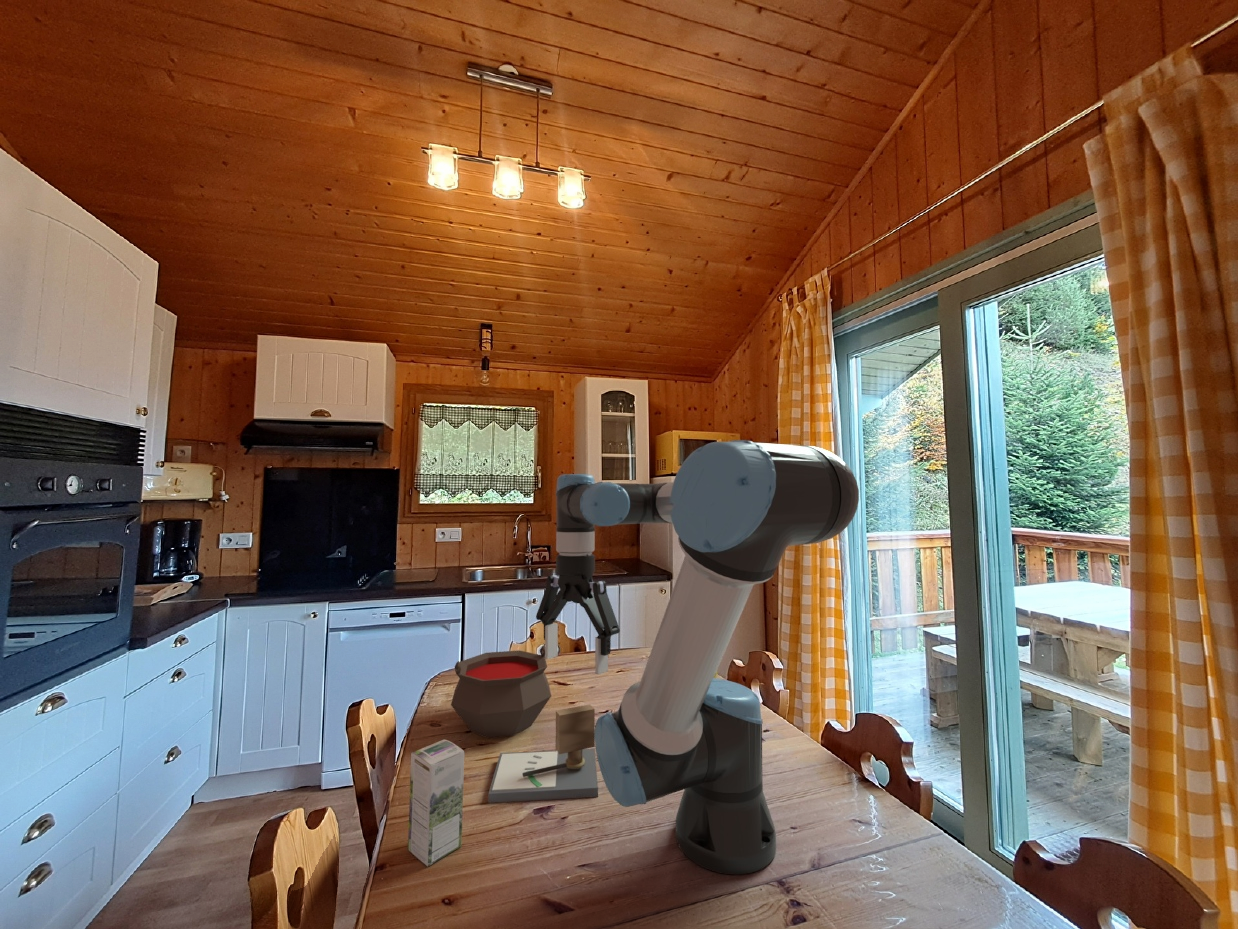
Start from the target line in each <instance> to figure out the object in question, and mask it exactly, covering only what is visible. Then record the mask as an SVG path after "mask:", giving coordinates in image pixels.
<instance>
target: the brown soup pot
mask: <svg viewBox="0 0 1238 929" xmlns="http://www.w3.org/2000/svg"><path fill="white" fill-rule="evenodd" d="M539 653H540V654H539ZM539 653H538V654H537V653H533V652H528V651H525V650H520V649H519V650H508V651H507V650H506V651H495V652H494V651H493V652H492V651H491V652H489V651H488V652H484V653H481V654H479V655H475V656H472V657H469V658H467V659H463V660H461V661H457V662H456V663H455V665H454V671H455V674H456V676H457V677H458V678H459V679H458V681H457V683H456V686H455V689H454V692H453V696H452V699H451V703H450V707H452V709H454V711H455V712H456V713H457V714H458V716H459V717H460V719H461V720H462V721H463V722H464V724H465V725H466V726H467V728H468V729H469V730H470V732H471V733H474V734H477V735H480V736H481V737H485V738H487V739H494V738H505V737H513V736H516V735H518V734H520V733H522V732H523V731H525V730H527V729H529V728H531V727H532V725H534V723H535V721H536V720H537V718H538V717H539V715H540V714H541V712H542V711H543V709H544V707H545V706H546V705H547V703H548V701H550V699H551V697H552V693H551V689H550V684H549V681H548V678H547V675H546V674H545V671H546V669H547V668H548V664H547V659H545V644H543V645H542V646H541V647H540V649H539Z"/></svg>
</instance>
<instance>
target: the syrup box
mask: <svg viewBox="0 0 1238 929" xmlns="http://www.w3.org/2000/svg"><path fill="white" fill-rule="evenodd" d="M464 773H465V751H464V750H463V749H462V748H461V747H460V746H458V745H457V744H455V743H454V742H452V741H450V740H447V739H442V740H439V741H437V742H434V743H432V744H430V745H426V746H425V747H422V748H420V749H417V750H415V751H412V752H411V755H410V777H409V778H410V780H409V810H408V837H407V838H408V839H407V849H408V852H410V853H411V854H412V855H414V857H416V858H417V859H418V860H419V861H420V862H422V863H423V864H424V865H425V866H426V867H430V866H432V865H433V864H435V863H437V862H438V861H439V860H441V859H443V858H444V857H447V856H448V855H450V854H451V853H453V852H454V851H456V850H458V849H459V848H461V847H462V842H463V841H462V837H463V811H464V810H463V809H464V808H463V805H464V803H463V802H464V800H463V799H464V778H465V776H464V775H465V774H464Z"/></svg>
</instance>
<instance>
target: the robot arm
mask: <svg viewBox="0 0 1238 929" xmlns="http://www.w3.org/2000/svg"><path fill="white" fill-rule="evenodd" d="M858 486H859V485H858V482H857V479H856V477H855V474H854V473H853V471H852V470H851V468H850V466H849V465H848V464H847V463H846V462H845V461H844V460H843V459H842V458H840V457H839V456H838V455H837V454H835V453H834V452H832V451H829V450H826V449H824V448H822V447H818V446H814V445H798V444H797V445H795V444H794V445H793V444H783V443H782V444H780V443H766V442H753V441H752V440H746V439H735V440H730V441H714V442H713V441H712V442H710V443H709V442H708V443H706V444H705V445H703V446H700V447H698V448H697V449H695V450H694V451H692V452H691V453H689V455H688V456H687V457H686V459H684V461H683V462H682V464H681V465H680V467H679V469H678V470H677V473H676V474H675V477H674V479H673V481H671V482H659V483H628V482H627V483H625V482H624V483H623V482H621V483H619V482H617V483H615V482H614V483H613V482H610V481H598V482H596V483H595V478H594V476H593V475H592V474H588V473H572V474H571V473H569V474H560V475H559V476H558V477H557V480H556V491H555V497H556V500H555V502H556V507H555V508H556V536H555V538H556V545H555V550H556V552H557V553H558V554H557V555H556V558H555V561H556V563H555V569H556V570H555V572H556V574H552V575H548V576H547V577H546V578H547V579H546V587H545V590H544V592H543V596H542V599H541V601H540V604H539V607H538V609H537V612H536V615H535V616H536V617H535V619H536V620H537V621H540V622H541V624H542V625H543V640H544V646H545V659H546V661H547V660H551V659H553V658H558V654H559V652H558V651H559V650H558V648H559V646H558V643H559V642H558V641H559V640H558V639H559V638H558V637H559V636H558V634H559V633H558V631H559V630H558V629H559V627H558V626H559V625H558V624H559V623H557V618H558V617H559V615H560V614H561V612H562V611H563V610H564V607H566V605H567V603H568V602H569V603H570V602H572V603H574V604H579V605H580V607H582V608H583V609H584V611H585V613H586V614H587V617H588V618H589V620H590V622H591V624H592V626H593V627H594V629H595V631H596V633H597V634H598V635H597V636H595V637H594V638H595V639H594V642H595V643H594V646H595V647H594V648H595V649H594V650H595V657H594V658H595V659H594V660H595V661H594V662H595V665H594V668H595V670H594V671H595V673H594V674H595V675H601V674H604V673H606V672H608V671H609V655H610V654H611V645H612V644H611V642H612V641H611V640H612V639H611V638H612V636H614V635H617V634H619V633H620V631H621V630H620V629H621V628H620V626H619V624H618V621H617V617H616V616H615V615H616V614H615V612H614V610H613V607H612V605H611V604H612V603H611V601H610V598H609V594H608V590H607V584H606V581H605V580H601V581H600V580H599V581H594V580H593V575H594V573H595V571H596V560H595V559H596V556H595V555H594V554H593V552H595V548H596V547H595V545H596V544H595V540H596V538H595V536H596V535H595V534H596V533H595V532H596V529H595V528H596V526H597V527H612V526H616V525H638V524H672V525H673V529H674V531H675V533H676V534H677V536H678V538H677V540H678V544H679V547H680V549H681V550H682V552H683V554H684V558H683V561H682V564H681V567H680V569H679V572H678V574H677V578H676V580H675V583H674V585H673V589H672V592H671V595H670V596H669V600H668V603H667V606H666V609H665V612H664V615H663V617H662V620H661V622H660V625H659V628H658V631H657V633H656V636H655V640H654V642H653V645H652V648H651V651H650V654H649V657H648V659H647V662H646V664H645V667H644V670H643V672H642V676H641V679H640V680H639V681H637V682H635V683H633V684H632V685H630V686H629V687H628V689H627V690H626V691H625V692H624V693H623V694H624V695H623V697H622V699H621V703H620V705H619V708H618V710H617V711H615V712H610V711H609V712H606V714H603V715H600V716H599V717H598V718H597V720H596V721H595V747H594V748H595V754H596V757H597V758H596V759H597V763H598V766H599V770H600V773H601V776H602V779H603V781H604V784H605V786H606V788H607V791H608V792H609V794H610V796H611V797H612V798H613V800H614V801H615V802H616V803H618V804H619V805H620V806H622V807H625V808H630V807H633V806H638V805H646V804H647V803H649V802H652V801H654V800H657V799H660V798H663V797H666V796H669V795H672V794H675V793H677V792H680V791H683V793H682V795H681V796H682V797H681V799H680V803H679V806H678V809H677V813H676V817H675V839H676V843H677V845H678V847H679V848H680V850H681V851H682V853H683V854H684V855H685V856H686V857H687V858H688V859H689V860H691V861H692V862H693V863H694V864H696V865H698V866H700V867H702V868H704V869H706V870H709V871H712V872H715V873H719V874H727V875H747V874H752V873H754V872H755V873H756V872H758V871H760V870H762V869H764V868H765V867H767V866H768V865H770V863H771V862H772V861H773V860H774V858H775V856H776V852H777V835H776V833H777V832H776V826H775V824H774V821H773V818H772V815H771V811H770V809H769V805H768V802H767V800H766V797H765V794H764V788H763V787H764V786H763V783H764V782H763V724H764V723H763V722H764V721H763V719H762V712H761V710H762V709H761V701H760V698H759V697H758V695H757V694H756V693H755V691H753V690H752V689H750V688H748V687H747V686H745V685H742V684H741V683H738V682H734V681H731V680H726V679H722V678H717V677H716V678H714V676H715V673H716V671H717V669H719V666H720V664H721V662H722V660H723V657H724V655H725V653H726V650H727V649H728V645H729V643H730V641H731V638H732V636H733V633H734V631H735V629H736V628H737V624H738V622H739V620H740V618H741V616H742V613H743V611H744V609H745V607H746V604H747V601H748V599H749V597H750V595H751V592H752V590H753V589H754V588H753V587H754V585H757V584H763V583H766V582H767V581H769V580H770V579H772V578H773V577H774V575H775V573H776V570H777V568H778V566H779V564H780V562H781V560H782V557H783V555H784V554H785V551H786V550H787V548H788V547H789V546H790V547H791V546H801V545H811V544H813V545H814V544H819V543H822V542H825V541H828V540H830V539H833V538H834V537H836V536H838V535H839V534H841V533H842V532H843V531H845V529H847V528H848V526H849V525H850V523H851V522H852V521H853V520H854V517H855V515H856V513H857V510H858V506H859V502H860V496H859V495H860V494H859V493H860V490H859V487H858Z"/></svg>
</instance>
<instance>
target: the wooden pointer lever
mask: <svg viewBox="0 0 1238 929" xmlns="http://www.w3.org/2000/svg"><path fill="white" fill-rule="evenodd" d="M595 710H596V709H595V707H594V706H592V705H591V704H584V705H579V706H573V707H569V708H562V709H557V710H555V750H557V752H558V753H559V754H564V753H568V758H567V759H566V763H563V764H559V765H555V766H550V767H546V768H541V769H537V770H533V771H528V772H524V773H523V777H526V776H530V775H534V774H539V773H543V772H547V771H551V770H556V769H560V768H564V767H568V768H570V769H579V768H581V767H583V766H584V764H585V760H584V758H583V757H582V749H592V748H596V747H595V725H596V721H595V720H596V718H595Z"/></svg>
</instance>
